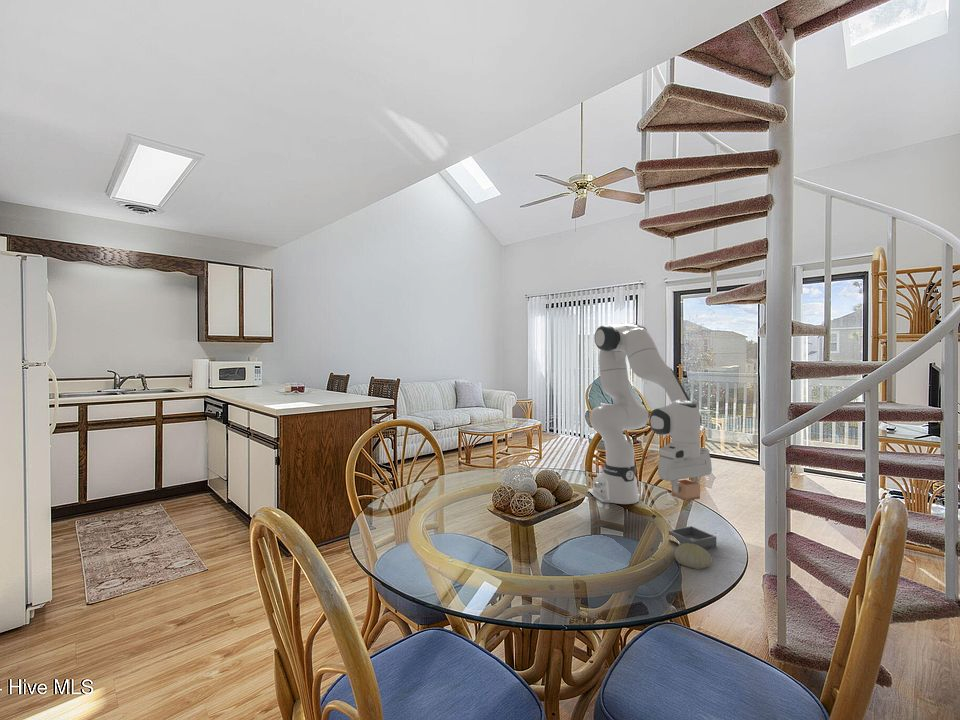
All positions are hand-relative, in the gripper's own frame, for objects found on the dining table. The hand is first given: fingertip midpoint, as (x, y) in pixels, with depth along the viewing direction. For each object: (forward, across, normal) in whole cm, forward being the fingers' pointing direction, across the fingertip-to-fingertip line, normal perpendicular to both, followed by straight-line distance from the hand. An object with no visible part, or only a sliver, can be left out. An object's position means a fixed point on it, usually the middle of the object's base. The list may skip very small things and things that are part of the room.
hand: (685, 490), depth 147 cm
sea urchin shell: (+13, +17, +19) cm, 29 cm away
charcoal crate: (+13, +6, +9) cm, 17 cm away
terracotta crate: (+2, 0, 0) cm, 2 cm away
